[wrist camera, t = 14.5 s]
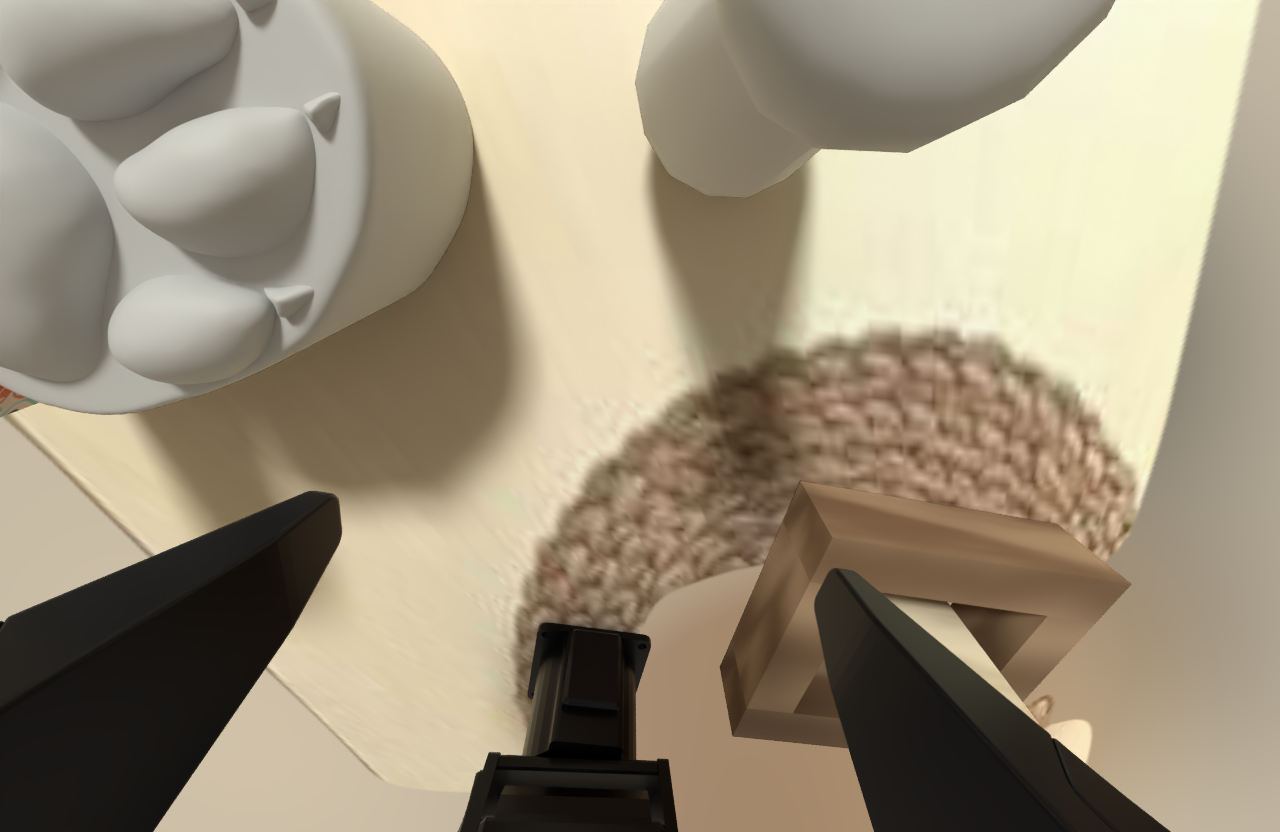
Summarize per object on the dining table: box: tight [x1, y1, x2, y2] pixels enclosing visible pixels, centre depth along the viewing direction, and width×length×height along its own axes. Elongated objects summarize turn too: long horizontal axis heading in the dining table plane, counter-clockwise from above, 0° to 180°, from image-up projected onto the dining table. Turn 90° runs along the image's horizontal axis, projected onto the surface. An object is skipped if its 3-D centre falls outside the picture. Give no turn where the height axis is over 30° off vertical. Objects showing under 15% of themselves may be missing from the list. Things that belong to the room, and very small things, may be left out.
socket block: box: [720, 481, 1131, 748], centre depth 24 cm, size 14×14×4 cm
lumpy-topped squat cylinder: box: [0, 0, 473, 415], centre depth 12 cm, size 10×13×9 cm
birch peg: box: [880, 592, 1039, 724], centre depth 22 cm, size 4×4×10 cm
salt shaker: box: [635, 0, 1115, 198], centre depth 10 cm, size 6×6×13 cm
